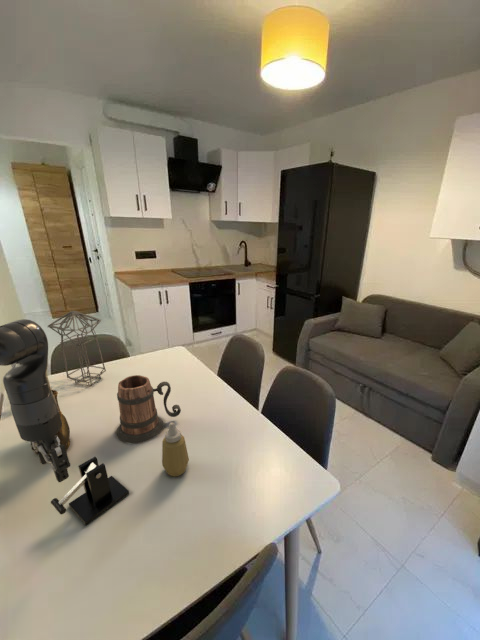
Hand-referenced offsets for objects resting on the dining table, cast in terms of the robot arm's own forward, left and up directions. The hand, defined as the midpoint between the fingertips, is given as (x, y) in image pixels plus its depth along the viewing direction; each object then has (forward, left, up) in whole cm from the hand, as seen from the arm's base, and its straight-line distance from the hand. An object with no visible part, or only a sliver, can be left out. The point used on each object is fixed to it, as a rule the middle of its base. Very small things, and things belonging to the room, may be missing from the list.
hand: (54, 470), depth 68 cm
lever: (+4, 0, -9) cm, 10 cm away
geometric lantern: (+38, +68, -18) cm, 80 cm away
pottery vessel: (+9, +32, -18) cm, 37 cm away
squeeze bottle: (+28, -8, -18) cm, 34 cm away
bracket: (+8, 0, -17) cm, 19 cm away
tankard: (+36, +17, -18) cm, 43 cm away
